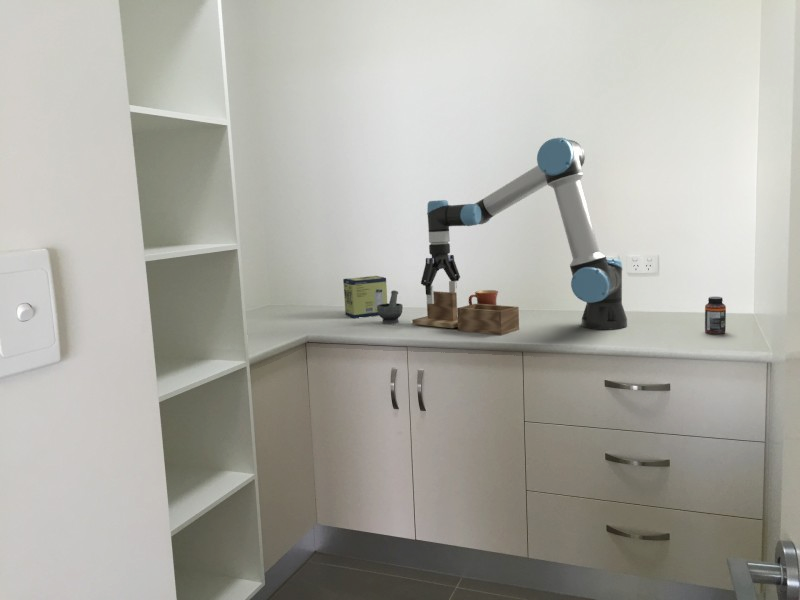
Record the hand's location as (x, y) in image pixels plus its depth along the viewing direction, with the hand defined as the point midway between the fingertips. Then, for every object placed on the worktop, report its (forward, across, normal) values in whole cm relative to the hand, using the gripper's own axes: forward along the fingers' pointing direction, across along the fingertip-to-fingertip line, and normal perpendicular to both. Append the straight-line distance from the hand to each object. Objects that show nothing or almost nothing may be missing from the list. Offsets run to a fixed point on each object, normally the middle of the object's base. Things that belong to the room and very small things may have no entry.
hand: (442, 301), depth 248 cm
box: (+9, +1, +21) cm, 23 cm away
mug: (+9, -18, +6) cm, 21 cm away
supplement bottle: (+10, -28, +87) cm, 92 cm away
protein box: (+9, -4, -43) cm, 44 cm away
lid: (+8, 0, 0) cm, 8 cm away
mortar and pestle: (+9, +5, -21) cm, 24 cm away
